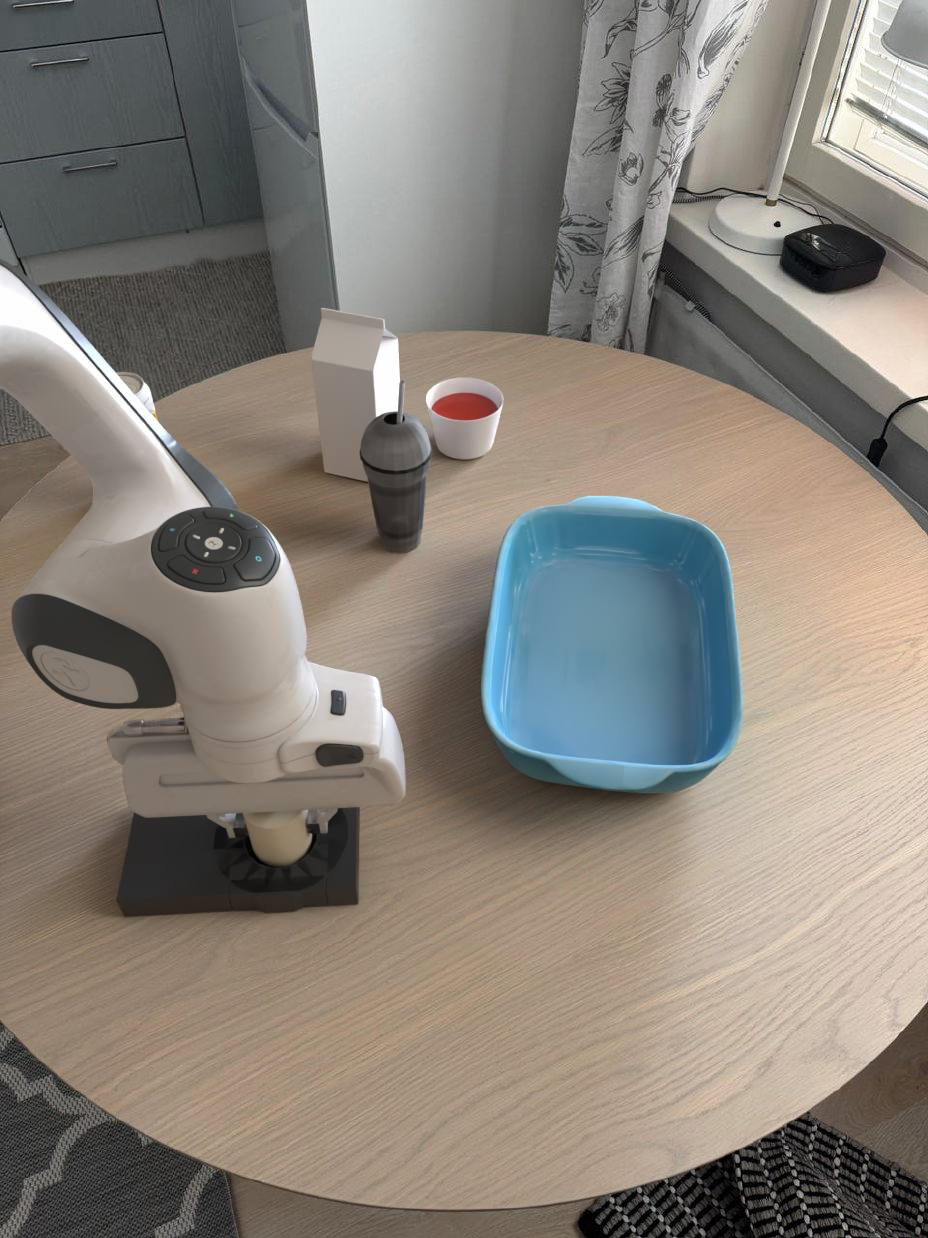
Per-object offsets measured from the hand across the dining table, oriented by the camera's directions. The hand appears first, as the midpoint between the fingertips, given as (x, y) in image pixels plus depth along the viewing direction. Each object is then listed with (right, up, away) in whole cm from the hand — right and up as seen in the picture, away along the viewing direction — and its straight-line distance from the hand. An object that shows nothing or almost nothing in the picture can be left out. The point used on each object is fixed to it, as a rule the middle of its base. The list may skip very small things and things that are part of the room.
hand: (280, 828), depth 78 cm
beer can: (-21, +29, +34) cm, 50 cm away
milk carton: (+3, +35, +39) cm, 52 cm away
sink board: (-3, -3, +2) cm, 5 cm away
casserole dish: (+28, +11, +17) cm, 34 cm away
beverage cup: (+8, +25, +30) cm, 39 cm away
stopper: (0, -1, +1) cm, 2 cm away
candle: (+15, +37, +42) cm, 58 cm away
